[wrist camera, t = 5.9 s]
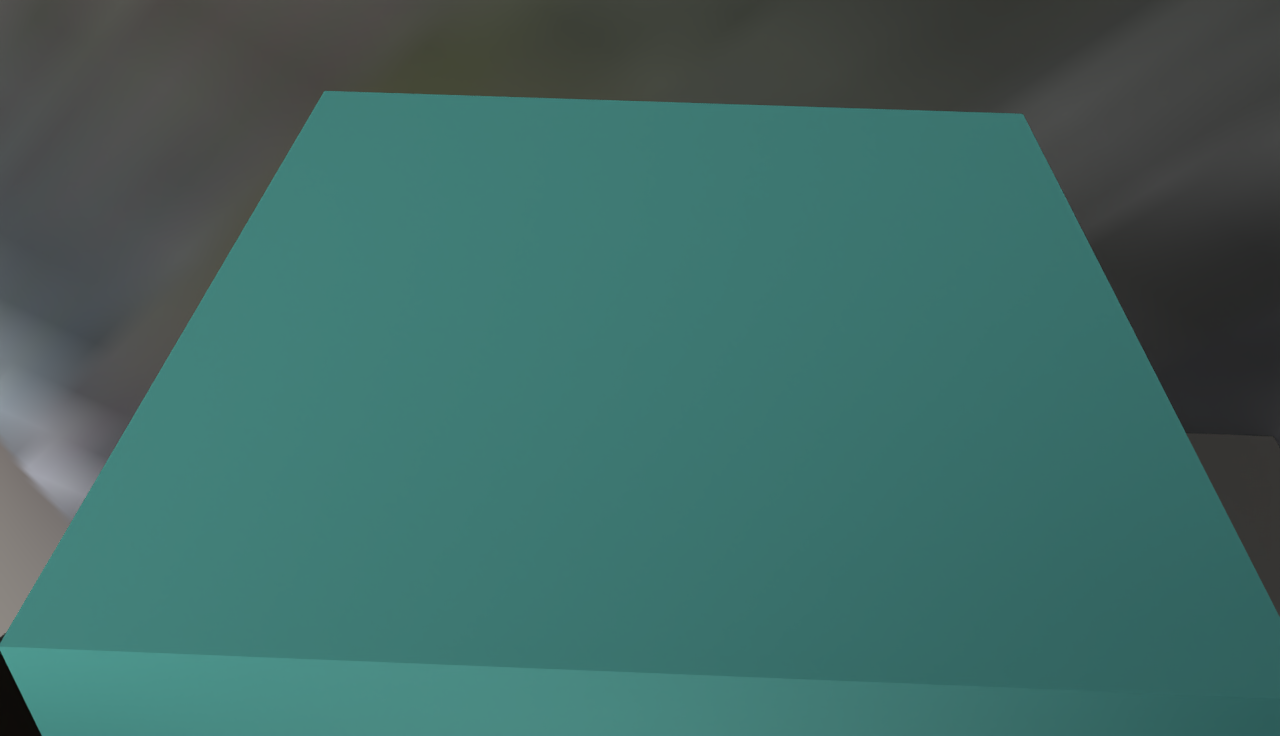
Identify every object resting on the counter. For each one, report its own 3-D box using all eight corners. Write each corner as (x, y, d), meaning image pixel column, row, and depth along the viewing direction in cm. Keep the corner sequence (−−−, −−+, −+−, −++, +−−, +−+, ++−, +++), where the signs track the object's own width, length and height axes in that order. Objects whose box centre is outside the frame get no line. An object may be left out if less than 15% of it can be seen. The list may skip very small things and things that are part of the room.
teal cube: (1023, 113, 8) (1322, 699, 4) (909, 587, 11) (1027, 1186, 7) (324, 91, 8) (-3, 645, 4) (398, 568, 11) (244, 1149, 8)
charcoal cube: (1271, 433, 24) (1385, 624, 20) (1195, 597, 27) (1282, 790, 23) (1027, 424, 24) (1092, 612, 20) (979, 588, 27) (1027, 779, 23)
